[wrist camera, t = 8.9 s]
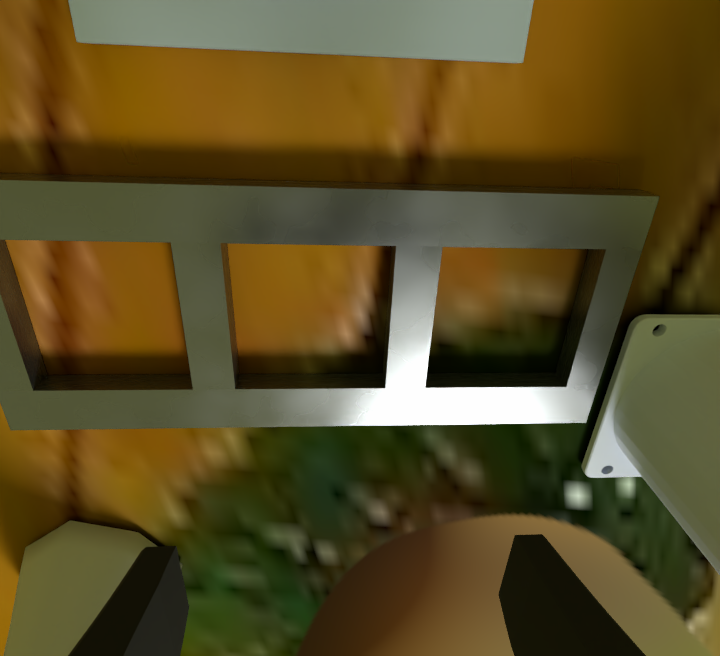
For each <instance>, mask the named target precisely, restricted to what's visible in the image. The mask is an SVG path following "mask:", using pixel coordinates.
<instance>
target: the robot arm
mask: <svg viewBox="0 0 720 656" xmlns="http://www.w3.org/2000/svg"><path fill="white" fill-rule="evenodd" d="M657 325H660V326H659V328H658V329H657V330H655V331H653V329H654V328H655V327H656V326H657ZM582 470H583V471H584V473H585V474H586V476H588V477H592V478H600V477H643V479H644V480H645V481H646V482H647V484H648V485H649V486H650V487H651V489H652V490H653V491H654V492H655V494H656V495H657V496H658V498H659V499H660V500H661V501H662V503H663V504H664V505H665V506H666V508H667V509H668V510H669V511H670V513H671V514H672V515H673V516H674V518H675V519H676V520H677V522H678V523H679V524H680V525H681V527H682V528H683V529H684V530H685V532H686V533H687V534H688V535H689V537H690V538H691V539H692V540H693V542H694V543H695V544H696V545H697V547H698V548H699V549H700V551H701V552H702V553H703V554H704V556H705V557H706V558H707V559H708V561H709V562H710V563H711V564H712V566H713V567H714V568H715V569H716V571H717V572H718V573H719V575H720V315H670V314H645V315H640V316H638V317H636V318H635V319H634V320H633V321H631V323H630V325H629V327H628V330H627V333H626V336H625V339H624V342H623V345H622V348H621V351H620V354H619V357H618V360H617V363H616V366H615V368H614V371H613V374H612V377H611V380H610V383H609V386H608V389H607V392H606V395H605V398H604V401H603V404H602V407H601V410H600V413H599V416H598V419H597V422H596V425H595V427H594V430H593V433H592V436H591V439H590V442H589V445H588V448H587V451H586V454H585V457H584V460H583V463H582ZM499 598H500V602H501V606H502V611H503V615H504V619H505V624H506V627H507V631H508V635H509V639H510V643H511V647H512V650H513V652H514V655H515V656H646V655H645V654H644V653H643V652H642V651H641V650H640V649H639V648H638V647H637V645H636V644H635V643H633V641H632V640H631V639H630V638H629V636H628V635H627V634H626V633H625V632H624V631H623V630H622V629H621V627H620V626H619V625H618V624H617V623H616V622H615V621H614V619H613V618H612V617H611V616H610V615H609V614H608V613H607V612H606V610H605V609H604V608H603V607H602V606H601V604H600V603H599V602H598V601H597V600H596V599H595V597H594V596H593V595H592V594H591V593H590V591H589V590H588V589H587V588H586V587H585V585H584V584H583V583H582V582H581V581H580V580H579V578H578V577H577V576H576V575H575V573H574V572H573V571H572V570H571V568H570V567H569V566H568V565H567V564H566V562H565V561H564V560H563V559H562V558H561V556H560V555H559V554H558V553H557V551H556V550H555V549H554V548H553V547H552V545H551V544H550V543H549V542H548V540H547V539H546V538H545V537H544V536H543V535H542V534H540V535H539V534H538V535H515V537H514V541H513V544H512V548H511V551H510V555H509V559H508V562H507V566H506V570H505V573H504V577H503V580H502V584H501V587H500V591H499ZM188 610H189V605H188V600H187V595H186V590H185V586H184V581H183V576H182V571H181V567H180V562H179V557H178V552H177V547H176V546H160V547H145V548H144V549H143V550H142V551H141V552H140V554H139V555H138V557H137V558H136V560H135V561H134V563H133V564H132V566H131V567H130V569H129V570H128V572H127V573H126V575H125V576H124V578H123V579H122V581H121V582H120V584H119V585H118V587H117V588H116V590H115V591H114V593H113V594H112V595H111V597H110V598H109V600H108V601H107V603H106V604H105V605H104V607H103V608H102V610H101V611H100V613H99V614H98V615H97V617H96V618H95V620H94V621H93V622H92V624H91V625H90V626H89V628H88V629H87V631H86V632H85V633H84V635H83V636H82V637H81V639H80V640H79V641H78V643H77V644H76V645H75V647H74V648H73V649H72V651H71V652H70V654H69V655H68V656H180V653H181V648H182V643H183V638H184V632H185V626H186V621H187V615H188Z"/></svg>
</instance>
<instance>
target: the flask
mask: <svg viewBox="0 0 720 656" xmlns="http://www.w3.org/2000/svg"><path fill="white" fill-rule="evenodd" d="M145 547H158V546H156V545H155V544H154V543H152V542H151V541H150V540H148V539H147V538H145V537H144V536H143V535H141V534H140V533H139V532H134V531H129V530H123V529H117V528H111V527H106V526H100V525H94V524H88V523H83V522H77V521H71V520H70V521H68V522H67V523H65V524H63V525H62V526H60V527H58V528H57V529H55V530H53V531H52V532H50V533H48V534H47V535H45V536H44V537H42V538H40V539H39V540H37V541H35V542H34V543H32V544H30V545H29V546H27V547H25V551H24V556H23V561H22V565H21V570H20V575H19V581H18V586H17V591H16V597H15V602H14V608H13V613H12V619H11V624H10V629H9V634H8V638H7V643H6V647H5V652H4V656H68V655H69V654H70V652H71V651H72V649H73V648H74V647H75V645H76V644H77V643H78V641H79V640H80V639H81V637H82V636H83V635H84V633H85V632H86V631H87V629H88V628H89V626H90V625H91V624H92V622H93V621H94V620H95V618H96V617H97V615H98V614H99V613H100V611H101V610H102V608H103V607H104V605H105V604H106V603H107V601H108V600H109V598H110V597H111V595H112V594H113V593H114V591H115V590H116V588H117V587H118V585H119V584H120V582H121V581H122V579H123V578H124V576H125V575H126V573H127V572H128V570H129V569H130V567H131V566H132V564H133V563H134V561H135V560H136V558H137V557H138V555H139V554H140V552H141V551H142V550H143V549H144V548H145ZM180 567H181V569H182V564H181V563H180Z"/></svg>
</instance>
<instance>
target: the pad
mask: <svg viewBox="0 0 720 656" xmlns="http://www.w3.org/2000/svg"><path fill="white" fill-rule="evenodd" d="M68 1H69V6H70V11H71V16H72V21H73V26H74V31H75V36H76V41H77V42H81V43H92V44H113V45H135V46H156V47H177V48H199V49H220V50H242V51H263V52H285V53H306V54H328V55H349V56H370V57H392V58H413V59H435V60H456V61H478V62H499V63H523V59H524V54H525V48H526V42H527V36H528V30H529V25H530V19H531V13H532V7H533V1H534V0H68Z"/></svg>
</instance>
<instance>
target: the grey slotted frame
mask: <svg viewBox="0 0 720 656" xmlns="http://www.w3.org/2000/svg"><path fill="white" fill-rule="evenodd" d="M658 200H659V196H657V195H654V194H651V193H648V192H646V191H643V190H628V189H590V188H552V187H513V186H475V185H437V184H399V183H361V182H322V181H284V180H246V179H208V178H169V177H131V176H93V175H55V174H17V173H0V403H1V406H2V409H3V411H4V414H5V416H6V419H7V422H8V424H9V427H10V429H11V430H65V429H141V428H217V427H293V426H368V425H444V424H520V423H586V421H587V418H588V415H589V411H590V408H591V405H592V402H593V399H594V396H595V393H596V390H597V387H598V384H599V381H600V378H601V375H602V372H603V369H604V366H605V362H606V359H607V356H608V353H609V350H610V347H611V344H612V341H613V338H614V335H615V332H616V329H617V326H618V323H619V320H620V316H621V313H622V310H623V307H624V304H625V301H626V298H627V295H628V292H629V289H630V286H631V283H632V280H633V277H634V274H635V271H636V267H637V264H638V261H639V258H640V255H641V252H642V249H643V246H644V243H645V240H646V237H647V234H648V231H649V228H650V225H651V222H652V218H653V215H654V212H655V209H656V206H657V203H658ZM5 240H56V241H118V242H171V247H172V254H173V261H174V267H175V274H176V281H177V287H178V294H179V300H180V307H181V314H182V320H183V327H184V334H185V340H186V347H187V353H188V360H189V367H190V373H191V374H164V375H47V371H46V368H45V365H44V362H43V359H42V356H41V353H40V349H39V346H38V343H37V340H36V337H35V334H34V331H33V327H32V324H31V321H30V318H29V315H28V312H27V308H26V305H25V302H24V299H23V296H22V293H21V290H20V286H19V283H18V280H17V277H16V274H15V271H14V268H13V264H12V261H11V258H10V255H9V252H8V249H7V245H6V242H5ZM227 243H243V244H306V245H369V246H392V247H391V261H390V275H389V289H388V303H387V317H386V331H385V345H384V358H383V372H382V373H373V374H239V364H238V353H237V343H236V332H235V321H234V311H233V300H232V290H231V279H230V268H229V258H228V247H227ZM442 247H494V248H556V249H589V250H588V254H587V258H586V261H585V265H584V269H583V272H582V276H581V280H580V283H579V287H578V291H577V294H576V298H575V302H574V305H573V309H572V313H571V317H570V320H569V324H568V328H567V331H566V335H565V339H564V342H563V346H562V350H561V353H560V357H559V361H558V364H557V368H556V372H555V373H427V368H428V360H429V352H430V344H431V336H432V327H433V319H434V311H435V303H436V295H437V287H438V279H439V271H440V263H441V254H442Z"/></svg>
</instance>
